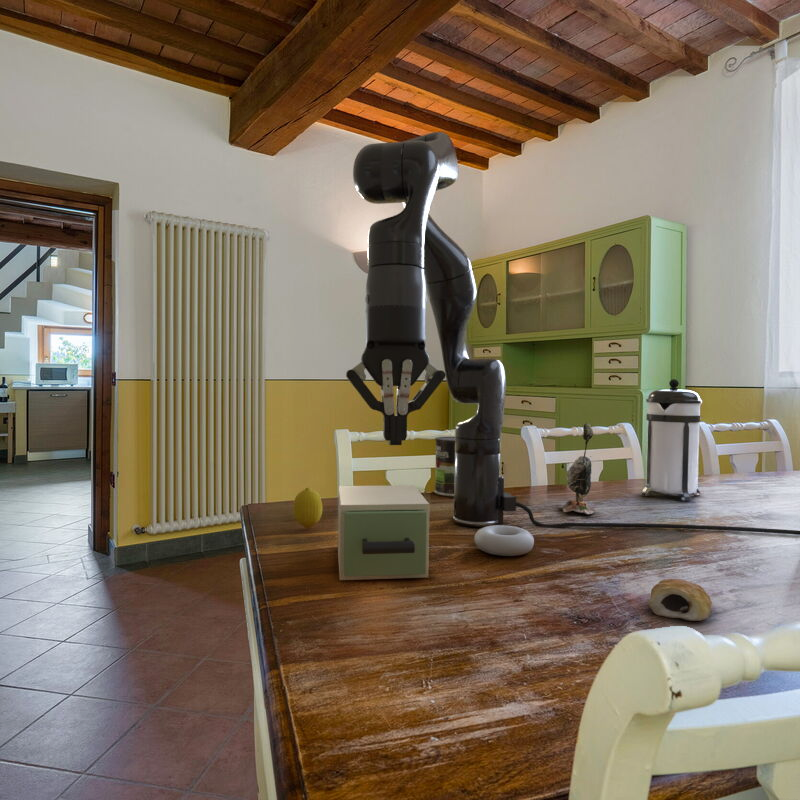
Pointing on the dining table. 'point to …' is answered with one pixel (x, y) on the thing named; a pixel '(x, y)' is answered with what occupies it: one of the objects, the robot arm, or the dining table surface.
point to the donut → (504, 540)
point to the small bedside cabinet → (377, 501)
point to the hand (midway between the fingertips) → (394, 444)
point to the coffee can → (445, 466)
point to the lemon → (307, 508)
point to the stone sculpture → (580, 479)
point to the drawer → (385, 542)
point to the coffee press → (673, 442)
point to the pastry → (680, 600)
